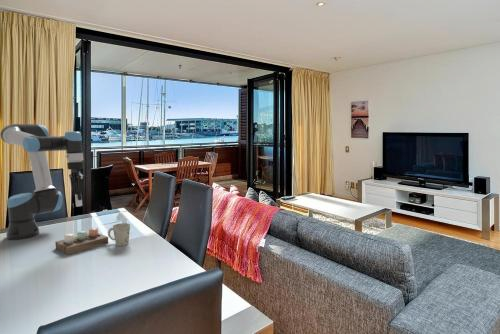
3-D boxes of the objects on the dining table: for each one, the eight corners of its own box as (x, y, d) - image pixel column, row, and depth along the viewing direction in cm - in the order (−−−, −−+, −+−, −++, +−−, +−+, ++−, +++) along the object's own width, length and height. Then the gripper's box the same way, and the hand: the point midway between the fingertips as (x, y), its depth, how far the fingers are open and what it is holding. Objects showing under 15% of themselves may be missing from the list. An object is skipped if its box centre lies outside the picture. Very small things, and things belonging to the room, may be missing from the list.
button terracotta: (87, 236, 169) (87, 229, 168) (96, 234, 172) (95, 227, 172) (91, 238, 166) (91, 231, 166) (100, 236, 169) (99, 228, 169)
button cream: (63, 243, 159) (62, 235, 159) (72, 240, 163) (72, 233, 162) (67, 244, 157) (66, 237, 156) (76, 242, 160) (75, 234, 160)
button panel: (55, 248, 161) (55, 241, 161) (95, 237, 177) (95, 231, 176) (67, 254, 153) (67, 247, 152) (108, 243, 168) (107, 236, 168)
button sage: (75, 239, 164) (75, 232, 164) (84, 237, 167) (84, 230, 167) (79, 241, 161) (79, 233, 161) (88, 239, 165) (88, 231, 164)
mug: (124, 247, 162) (123, 228, 161) (102, 245, 165) (101, 226, 164) (134, 241, 170) (133, 223, 169) (112, 240, 173) (111, 222, 172)
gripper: (62, 161, 168) (66, 206, 170) (73, 162, 160) (77, 208, 162) (77, 160, 174) (81, 203, 176) (88, 161, 165) (92, 206, 168)
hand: (79, 205), depth 169 cm, fingers closed
